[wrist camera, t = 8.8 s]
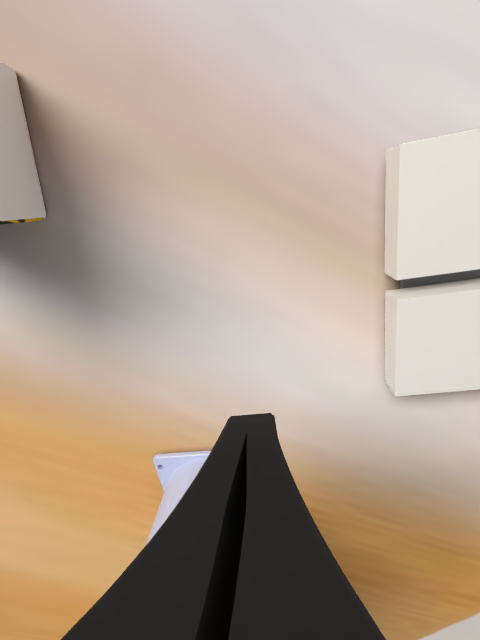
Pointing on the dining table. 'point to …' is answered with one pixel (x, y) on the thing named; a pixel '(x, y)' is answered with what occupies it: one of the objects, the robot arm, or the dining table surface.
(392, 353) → the tile far
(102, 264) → the dining table surface
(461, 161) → the tile near
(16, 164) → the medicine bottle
